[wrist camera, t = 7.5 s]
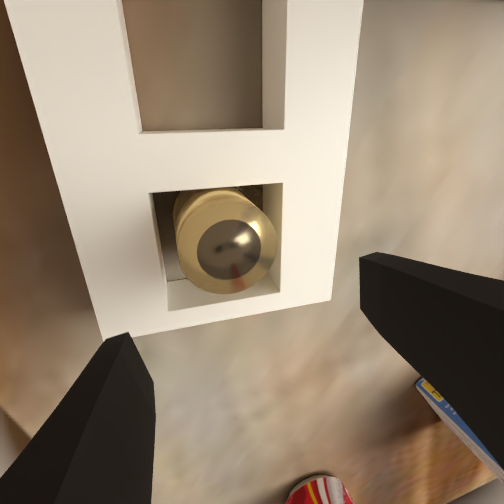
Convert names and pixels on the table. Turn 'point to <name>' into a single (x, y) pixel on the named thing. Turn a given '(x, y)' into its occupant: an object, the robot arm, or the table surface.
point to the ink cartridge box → (458, 426)
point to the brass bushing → (222, 239)
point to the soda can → (319, 491)
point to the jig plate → (191, 156)
